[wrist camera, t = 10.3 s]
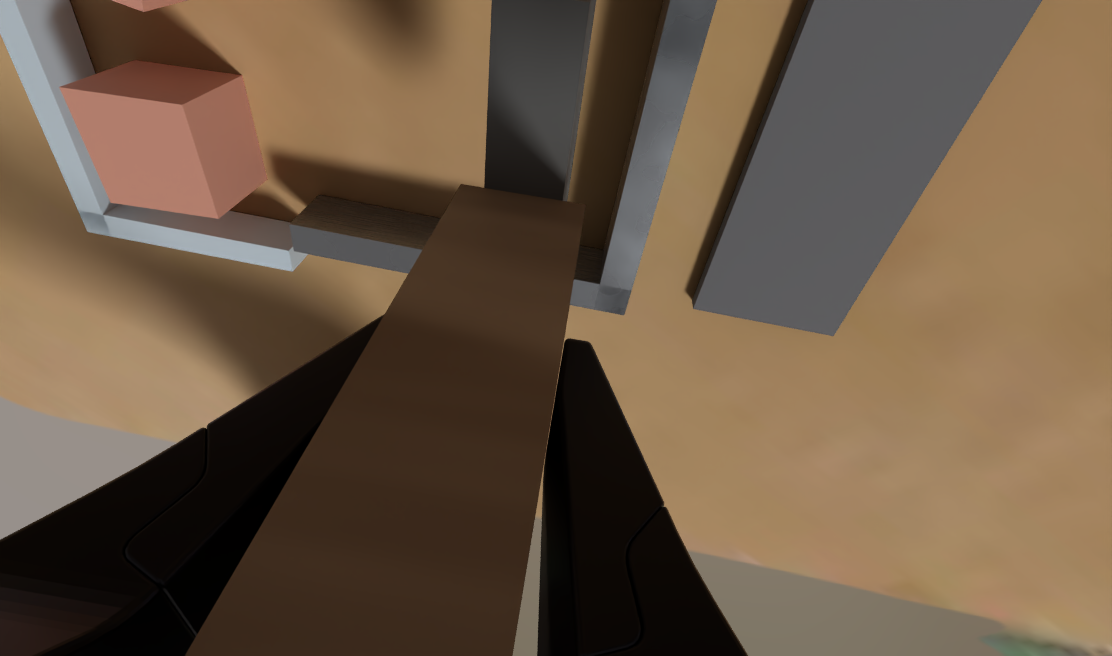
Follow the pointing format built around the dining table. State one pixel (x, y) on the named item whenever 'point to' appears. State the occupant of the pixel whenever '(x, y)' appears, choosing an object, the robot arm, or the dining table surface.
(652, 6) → the dining table surface
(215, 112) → the salmon pink cube
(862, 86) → the mat
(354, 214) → the slot channel
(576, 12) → the t-shaped scraper
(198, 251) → the tray
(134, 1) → the dusty rose cube
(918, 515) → the dining table surface
